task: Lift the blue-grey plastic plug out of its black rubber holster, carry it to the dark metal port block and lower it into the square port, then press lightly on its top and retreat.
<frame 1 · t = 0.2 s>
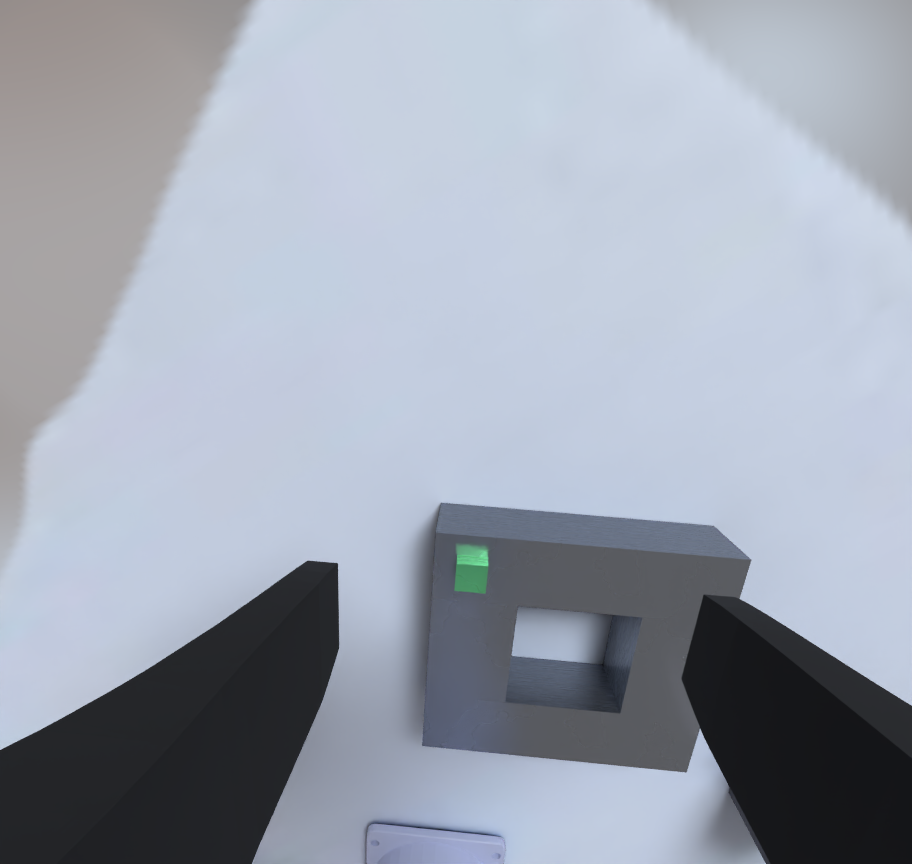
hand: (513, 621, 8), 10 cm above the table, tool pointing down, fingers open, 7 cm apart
port block: (559, 618, 20), on the table
holster: (792, 754, 22), on the table
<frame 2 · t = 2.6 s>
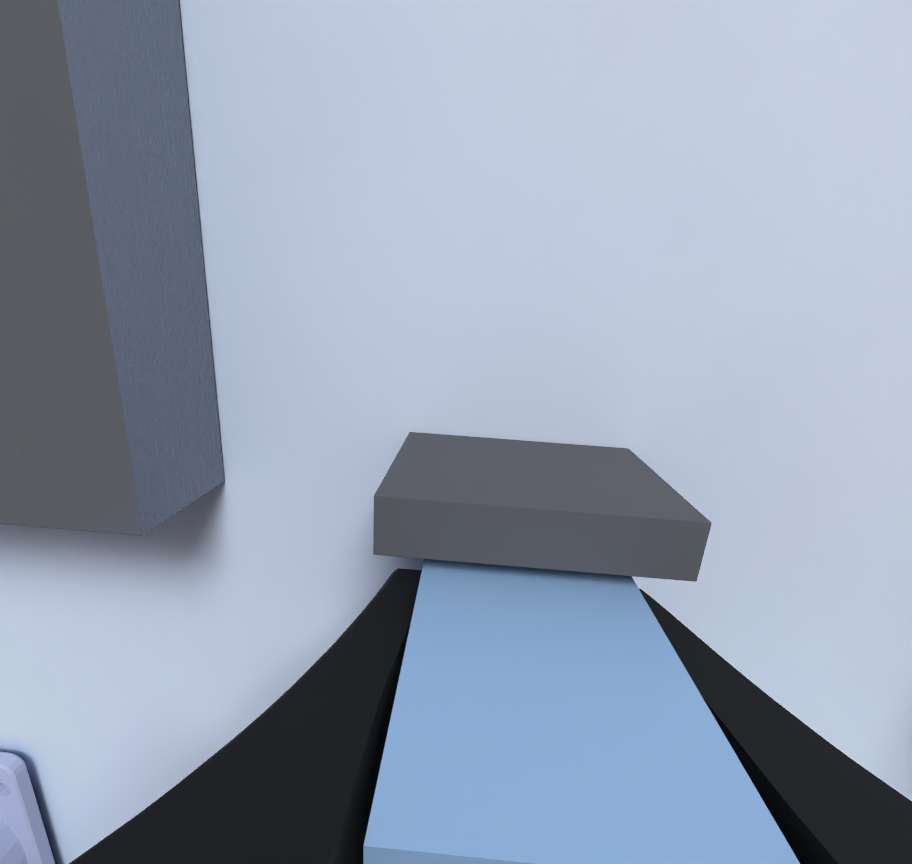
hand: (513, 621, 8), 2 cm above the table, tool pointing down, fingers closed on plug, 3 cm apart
plug: (505, 558, 10), on the table, touching gripper
holster: (505, 558, 10), on the table
when the fingers open (3 cm above the table, at t = 6.0 s): plug stays where it is, on the table.
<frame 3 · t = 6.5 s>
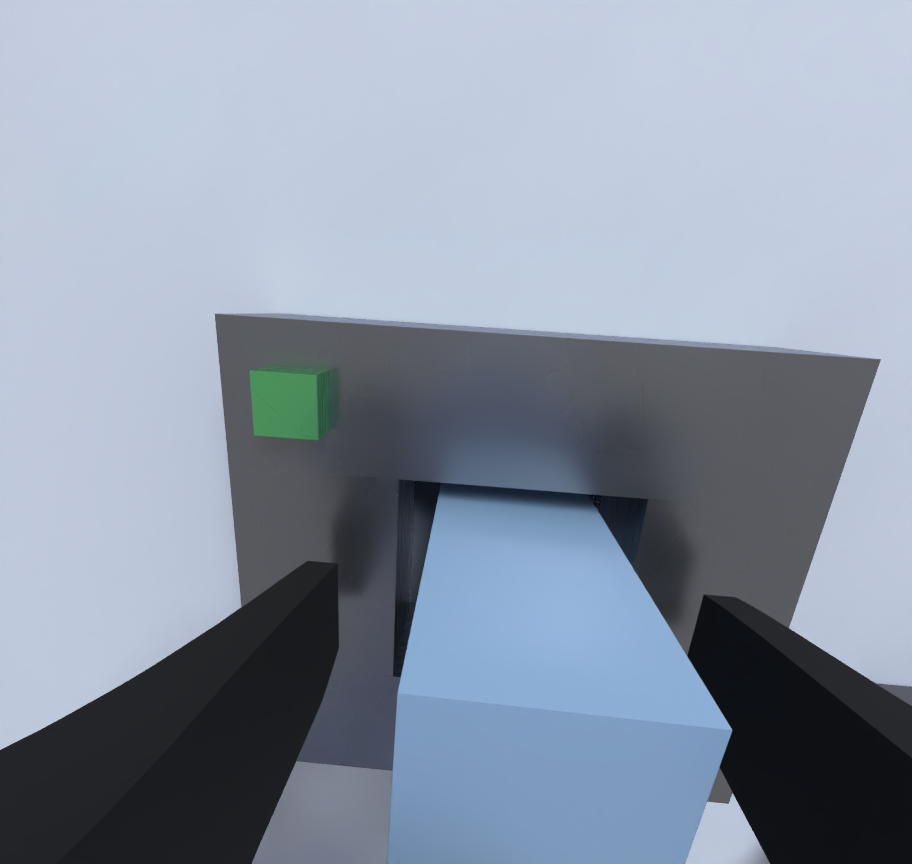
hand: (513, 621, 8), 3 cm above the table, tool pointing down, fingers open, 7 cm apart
plug: (502, 528, 12), on the table
port block: (502, 534, 12), on the table
holster: (895, 766, 13), on the table
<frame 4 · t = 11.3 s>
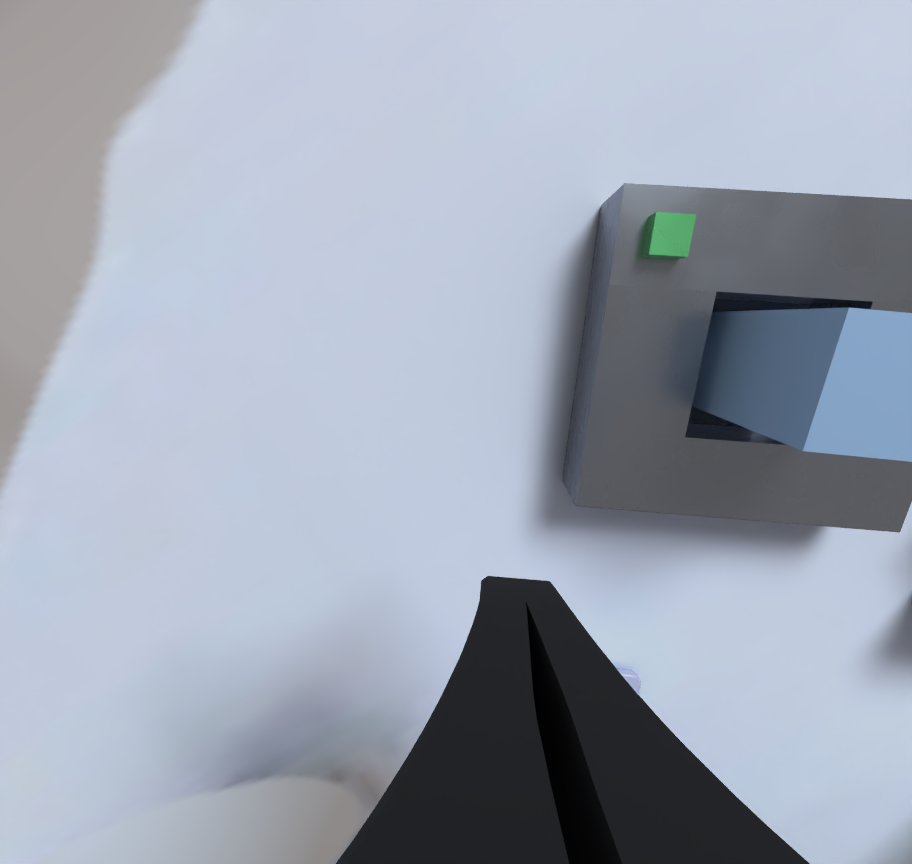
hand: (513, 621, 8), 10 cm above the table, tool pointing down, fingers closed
plug: (730, 361, 17), on the table
port block: (730, 365, 17), on the table
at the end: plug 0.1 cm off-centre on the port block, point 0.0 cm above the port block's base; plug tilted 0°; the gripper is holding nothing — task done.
